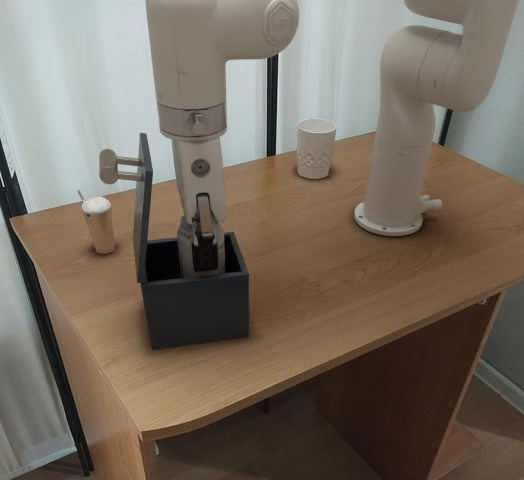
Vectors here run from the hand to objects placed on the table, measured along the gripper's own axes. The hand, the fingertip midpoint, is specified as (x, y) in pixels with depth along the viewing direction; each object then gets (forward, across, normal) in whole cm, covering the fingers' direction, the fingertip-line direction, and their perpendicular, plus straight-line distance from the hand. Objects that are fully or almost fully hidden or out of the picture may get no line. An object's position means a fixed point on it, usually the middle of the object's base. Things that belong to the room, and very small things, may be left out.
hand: (202, 254), depth 71 cm
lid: (-7, 0, +7) cm, 10 cm away
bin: (+11, 0, +2) cm, 11 cm away
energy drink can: (+10, 0, 0) cm, 10 cm away
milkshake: (+11, +22, +15) cm, 29 cm away
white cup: (+11, +44, -29) cm, 54 cm away
